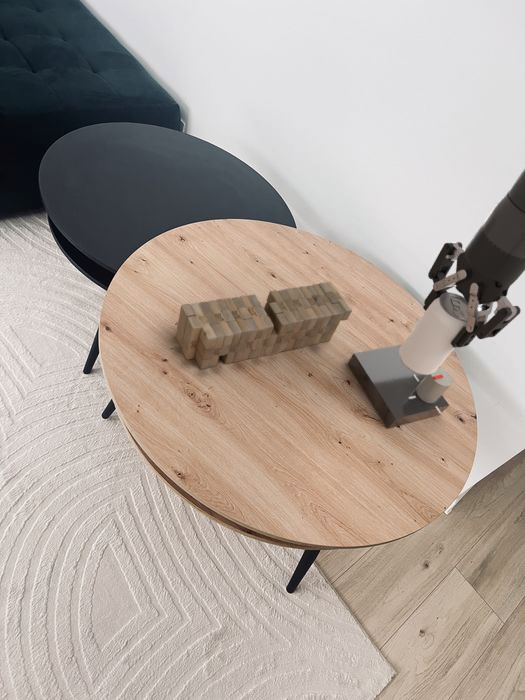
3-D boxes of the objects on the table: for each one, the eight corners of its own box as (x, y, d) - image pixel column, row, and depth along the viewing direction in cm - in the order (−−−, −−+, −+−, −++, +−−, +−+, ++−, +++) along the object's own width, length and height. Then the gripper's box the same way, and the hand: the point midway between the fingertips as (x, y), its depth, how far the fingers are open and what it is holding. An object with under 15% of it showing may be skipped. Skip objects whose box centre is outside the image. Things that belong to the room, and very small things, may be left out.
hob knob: (428, 382, 93) (444, 363, 89) (442, 400, 91) (458, 382, 87) (411, 387, 91) (427, 368, 88) (425, 405, 89) (441, 387, 86)
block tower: (191, 375, 85) (338, 340, 98) (199, 341, 79) (355, 309, 92) (173, 338, 89) (317, 310, 102) (180, 303, 83) (332, 278, 96)
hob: (448, 418, 93) (458, 408, 91) (391, 434, 87) (399, 424, 85) (402, 353, 101) (410, 342, 99) (347, 363, 95) (354, 352, 93)
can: (398, 369, 81) (438, 314, 72) (397, 339, 85) (435, 284, 76) (437, 381, 81) (482, 328, 73) (434, 351, 86) (476, 298, 77)
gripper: (455, 201, 68) (396, 295, 80) (530, 279, 60) (452, 369, 72) (495, 200, 71) (433, 290, 83) (571, 273, 64) (490, 361, 76)
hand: (442, 326), depth 78 cm, fingers closed on can, 6 cm apart
